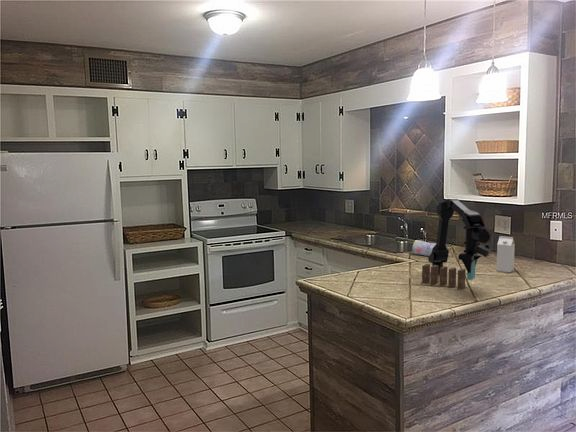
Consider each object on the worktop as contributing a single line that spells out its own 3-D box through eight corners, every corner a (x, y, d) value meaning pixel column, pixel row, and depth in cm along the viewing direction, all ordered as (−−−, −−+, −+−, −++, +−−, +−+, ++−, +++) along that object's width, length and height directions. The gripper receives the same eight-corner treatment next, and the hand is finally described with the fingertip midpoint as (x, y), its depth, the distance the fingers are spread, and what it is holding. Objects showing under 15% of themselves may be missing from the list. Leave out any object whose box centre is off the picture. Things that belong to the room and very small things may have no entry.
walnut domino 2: (430, 284, 241) (430, 266, 240) (434, 282, 245) (434, 265, 244) (434, 285, 240) (434, 267, 239) (438, 282, 243) (438, 265, 242)
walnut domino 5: (457, 288, 232) (457, 270, 231) (461, 286, 236) (461, 268, 235) (461, 289, 231) (461, 271, 230) (465, 287, 235) (465, 269, 234)
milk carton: (500, 268, 270) (501, 235, 268) (513, 270, 265) (515, 236, 263) (496, 271, 264) (497, 236, 262) (510, 272, 260) (511, 238, 258)
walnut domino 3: (439, 285, 238) (439, 268, 237) (443, 283, 242) (443, 266, 241) (443, 286, 237) (443, 268, 236) (447, 284, 241) (447, 266, 239)
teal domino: (467, 279, 229) (467, 260, 228) (470, 277, 233) (471, 259, 232) (471, 280, 228) (471, 261, 226) (474, 277, 231) (475, 259, 230)
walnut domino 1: (422, 283, 244) (422, 265, 243) (426, 281, 248) (426, 263, 246) (425, 283, 242) (426, 266, 241) (429, 281, 246) (430, 264, 245)
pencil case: (447, 256, 304) (448, 242, 302) (442, 259, 297) (442, 244, 296) (416, 253, 317) (417, 238, 316) (410, 255, 311) (411, 240, 309)
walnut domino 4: (448, 287, 235) (448, 269, 234) (452, 285, 239) (452, 267, 238) (452, 287, 234) (452, 269, 233) (456, 285, 238) (456, 267, 237)
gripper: (482, 244, 216) (481, 278, 218) (495, 238, 230) (494, 270, 232) (458, 241, 223) (457, 274, 225) (471, 236, 237) (471, 267, 239)
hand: (470, 271), depth 230 cm, fingers closed on teal domino, 5 cm apart
